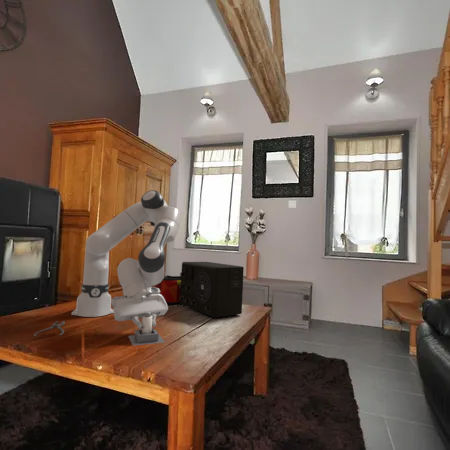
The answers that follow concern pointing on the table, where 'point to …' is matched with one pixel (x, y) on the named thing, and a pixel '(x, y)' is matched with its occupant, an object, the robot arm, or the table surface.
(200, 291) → the vintage radio
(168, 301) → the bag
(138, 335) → the socket block
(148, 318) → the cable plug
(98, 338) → the table surface
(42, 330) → the pliers
